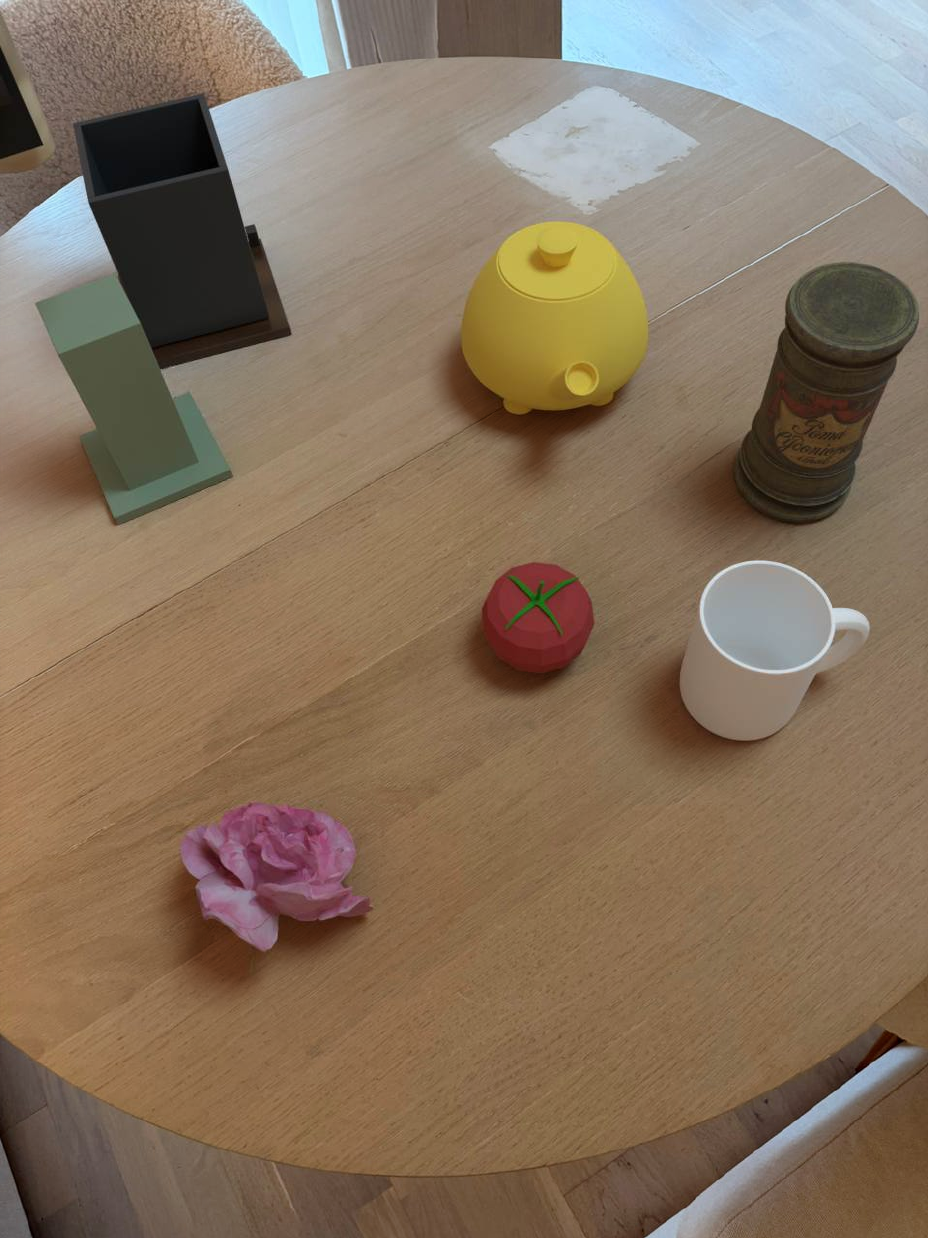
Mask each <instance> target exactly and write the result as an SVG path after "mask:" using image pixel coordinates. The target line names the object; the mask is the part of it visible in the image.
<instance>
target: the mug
mask: <svg viewBox="0 0 928 1238" xmlns="http://www.w3.org/2000/svg"><path fill="white" fill-rule="evenodd" d="M693 620H694V621H693V624H692V627H691V631H690V635H689V638H688V642H687V646H686V649H685V652H684V656H683V659H682V663H681V667H680V673H679V691H680V696H681V699H682V701H683V704H684V706H685V708H686V710H687V712H689V714H690V715H691V717H692V718H693V719H694V720H695V721H696V722H697V723H698V724H699V725H701V726H702V727H703V728H704V729H706V730H708V731H709V732H710V733H713V734H715V735H717V736H719V737H721V738H725V739H729V740H732V741H733V740H734V741H744V742H745V741H747V742H749V741H756V740H760V739H761V740H762V739H764V738H767V737H770V736H771V735H773V734H776V733H778V731H780V730H782V729H783V727H785V726H786V725H787V724H788V723H789V722H790V720H791V719H792V718H793V716H795V714H796V713H797V710H798V708H799V706H800V705H801V702H802V701H803V699H804V697H805V695H806V693H807V691H808V689H809V687H810V685H811V683H812V681H813V680H814V679H815V678H814V677H815V676H816V675H817V674H820V673H823V672H826V671H829V670H831V669H833V668H835V667H837V666H839V665H841V664H843V663H845V662H846V661H848V660H849V659H850V658H851V657H853V656H854V655H856V653H858V651H859V650H860V649H861V648H862V647H863V646H864V645H865V644H866V642H867V640H868V638H869V635H870V630H871V628H870V623H869V620H868V618H867V617H866V616H865V615H864V614H863V613H862V612H861V611H859V610H856V609H853V608H849V607H833V605H832V603H831V601H830V599H829V597H828V595H827V594H826V592H825V591H824V590H823V588H822V587H821V586H820V584H818V583H817V582H816V581H815V580H813V578H811V577H810V576H809V575H807V574H806V573H804V572H802V571H801V570H799V569H797V568H795V567H793V566H790V565H787V564H786V563H785V564H784V563H782V562H777V561H773V560H772V561H771V560H757V559H756V560H747V561H742V562H738V563H735V564H733V565H730V566H727V567H726V568H724V569H722V570H721V571H719V572H718V573H717V574H715V575H714V576H713V577H712V578H711V579H710V581H709V582H708V583H707V584H706V586H705V588H704V589H703V591H702V593H701V596H700V599H699V602H698V606H697V609H696V613H695V617H694V619H693ZM841 631H843V632H845V631H846V632H845V634H844V635H843V636H842V638H840V639H839V640H838V641H837V642H836V643H833V641H834V638H835V635H836V634H835V633H837V632H841ZM832 643H833V644H832Z"/></svg>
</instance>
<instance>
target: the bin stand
mask: <svg viewBox="0 0 928 1238" xmlns="http://www.w3.org/2000/svg"><path fill="white" fill-rule="evenodd" d="M244 228H245V231H246V235H247V238H248V242H249V246H250V249H251V253H252V256H253V260H254V263H255V267H256V271H257V274H258V278H259V281H260V285H261V289H262V292H263V296H264V299H265V303H266V307H267V310H268V314H269V318H266V319H262V320H258V321H254V322H250V323H246V324H243V325H239V326H235V327H231V328H227V329H223V330H219V331H215V332H211V333H208V334H204V335H200V336H196V337H192V338H188V339H184V340H180V341H177V342H173V343H169V344H165V345H161V346H157V347H153V348H151V349H152V351H153V354H154V356H155V358H156V361H157V363H158V366H159V368H160V370H161V369H164V368H168V367H173V366H176V365H180V364H184V363H187V362H191V361H194V360H200V359H203V358H207V357H210V356H215V355H218V354H223V353H226V352H229V351H234V350H238V349H242V348H244V347H250V346H253V345H257V344H260V343H264V342H268V341H272V340H277V339H280V338H284V337H287V336H291V335H293V334H292V331H291V330H292V329H291V326H290V323H289V320H288V317H287V314H286V311H285V307H284V305H283V302H282V298H281V295H280V293H279V290H278V287H277V283H276V280H275V277H274V274H273V271H272V268H271V265H270V263H269V259H268V257H267V253H266V249H265V247H264V244H263V241H262V238H260V237H259V233H258V230H257V227H256V225H255V224H254V223H253V224H249V225H244ZM114 268H115V269H116V267H115V266H114ZM117 278H118V280H119V282H120V284H121V286H122V288H123V290H124V292H125V294H126V296H127V293H126V291H125V289H124V286H123V284H122V281H121V279H120V277H119V274H118V273H117ZM127 298H128V296H127ZM128 300H129V298H128ZM129 302H130V300H129Z"/></svg>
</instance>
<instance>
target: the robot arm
mask: <svg viewBox="0 0 928 1238" xmlns="http://www.w3.org/2000/svg"><path fill="white" fill-rule="evenodd" d="M40 146H43V142H42V140H41V138H40V135H39V133H38V131H37V129H36V126H35V124H34V122H33V119H32V117H31V115H30V113H29V110H28V108H27V106H26V103H25V101H24V99H23V97H22V94H21V92H20V90H19V87H18V85H17V83H16V81H15V78H14V76H13V74H12V71H11V69H10V67H9V65H8V62H7V60H6V58H5V55H4V53H3V51H2V49H1V46H0V159H3V158H6V157H9V156H12V155H15V154H19V153H22V152H25V151H28V150H31V149H34V148H37V147H40Z"/></svg>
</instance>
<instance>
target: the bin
mask: <svg viewBox="0 0 928 1238" xmlns="http://www.w3.org/2000/svg"><path fill="white" fill-rule="evenodd" d="M72 127H73V131H74V138H75V143H76V147H77V151H78V157H79V163H80V167H81V173H82V177H83V182H84V187H85V188H84V189H85V194H86V199H87V203H88V206H89V209H90V211H91V213H92V215H93V217H94V220H95V222H96V224H97V227H98V229H99V232H100V234H101V237H102V239H103V241H104V244H105V246H106V248H107V250H108V254H109V255H110V258H111V261H112V262H113V265H114V268H115V267H116V268H115V270H116V273H117V275H118V274H119V277H120V279H121V281H122V284H123V286H124V289H125V291H126V293H127V296H128V298H129V300H130V303H131V305H132V307H133V309H134V311H135V313H136V315H137V317H138V319H139V321H140V323H141V325H142V328H143V330H144V332H145V335H146V337H147V339H148V342H149V344H150V347H151V348H153V347H157V346H161V345H165V344H169V343H173V342H177V341H180V340H184V339H188V338H192V337H196V336H200V335H204V334H208V333H211V332H215V331H219V330H223V329H227V328H231V327H235V326H239V325H243V324H246V323H250V322H254V321H258V320H262V319H266V318H269V314H268V310H267V307H266V303H265V299H264V296H263V292H262V289H261V285H260V281H259V278H258V274H257V271H256V267H255V263H254V260H253V256H252V253H251V249H250V246H249V242H248V237H247V234H246V230H245V225H244V221H243V216H242V213H241V210H240V206H239V203H238V199H237V196H236V192H235V187H234V185H233V181H232V178H231V173H230V170H229V167H228V164H227V161H226V158H225V154H224V151H223V148H222V146H221V142H220V139H219V135H218V133H217V130H216V127H215V124H214V120H213V118H212V114H211V110H210V108H209V105H208V101H207V99H206V96H205V93H198V94H195V95H190V96H185V97H181V98H177V99H172V100H169V101H164V102H160V103H155V104H151V105H145V106H142V107H138V108H132V109H128V110H125V111H120V112H116V113H111V114H106V115H103V116H102V115H101V116H97V117H94V118H90V119H85V120H81V121H77V122H73V123H72Z"/></svg>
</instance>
